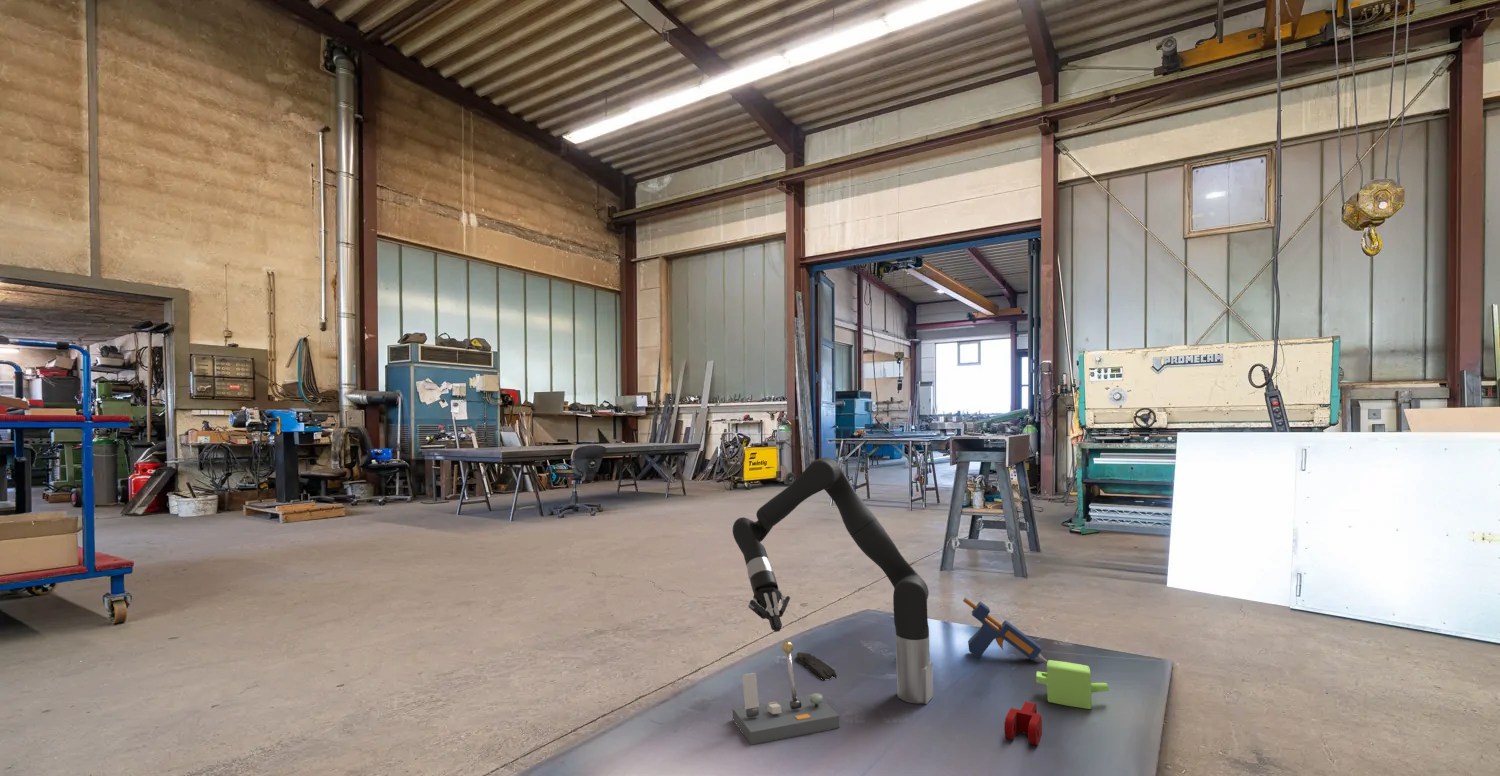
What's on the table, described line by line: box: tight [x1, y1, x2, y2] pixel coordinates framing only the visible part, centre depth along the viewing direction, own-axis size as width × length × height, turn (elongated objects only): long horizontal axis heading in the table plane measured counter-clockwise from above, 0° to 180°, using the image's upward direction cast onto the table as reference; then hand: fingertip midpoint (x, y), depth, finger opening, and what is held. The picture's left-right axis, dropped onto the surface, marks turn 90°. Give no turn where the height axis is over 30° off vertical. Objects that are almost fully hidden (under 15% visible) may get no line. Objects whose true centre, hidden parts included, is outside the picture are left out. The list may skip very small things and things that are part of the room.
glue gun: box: [962, 597, 1048, 662], centre depth 210 cm, size 6×31×15 cm
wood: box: [796, 651, 837, 681], centre depth 204 cm, size 22×7×3 cm, turn 21°
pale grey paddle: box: [741, 672, 760, 717], centre depth 163 cm, size 2×4×10 cm, turn 110°
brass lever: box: [781, 640, 801, 709], centre depth 169 cm, size 3×3×16 cm
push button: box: [809, 692, 823, 707], centre depth 168 cm, size 3×3×3 cm
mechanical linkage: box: [1003, 701, 1043, 746], centre depth 160 cm, size 16×7×5 cm, turn 147°
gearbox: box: [1035, 659, 1110, 710], centre depth 177 cm, size 18×10×10 cm, turn 64°
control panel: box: [732, 694, 840, 745], centre depth 165 cm, size 14×24×3 cm, turn 110°
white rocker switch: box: [767, 701, 781, 714], centre depth 164 cm, size 4×2×2 cm, turn 20°
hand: (777, 630), depth 178 cm, fingers closed
